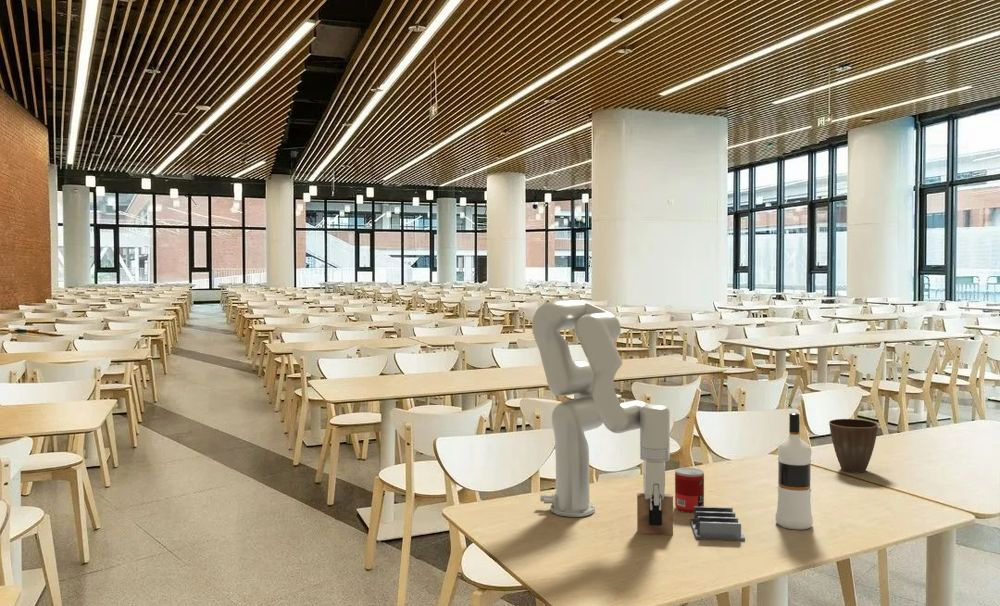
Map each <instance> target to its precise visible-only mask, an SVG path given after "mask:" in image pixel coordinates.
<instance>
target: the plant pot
mask: <svg viewBox="0 0 1000 606" xmlns="http://www.w3.org/2000/svg"><path fill="white" fill-rule="evenodd" d="M828 425H829V430H830V436H831V441H832V443H833V445H832V446H833V448H834V452H835V456H836V458H837V461H838V463H839V466H840V469H841V470H842V471H844V470H845V471H844V472H847V471H849V472H848V473H853V472H861V473H865V472H866V470H867V469H868V466H869V463H870V461H871V458H872V456H873V452H874V448H875V444H876V439H877V435H878V430H879V429H878V428H879V424H878V423H877V422H874V421H870V420H864V419H858V418H857V419H856V418H836V419H832V420H829V422H828Z"/></svg>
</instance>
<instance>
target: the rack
mask: <svg viewBox="0 0 1000 606" xmlns="http://www.w3.org/2000/svg"><path fill="white" fill-rule="evenodd" d="M689 520H690V521H689V523H690V525H691V529H692V531H693V534H694V538H695V539H696V540H703V539H711V541H730V540H731V542H732V541H733V542H734V541H735V542H737V541H738V542H746V537H745V535H744V533H743V531H742V523H741V522H739V517H736V512H734V511H733V506H732V507H727V506H704V507H702V506H694V513H693V518H690V519H689Z"/></svg>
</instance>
